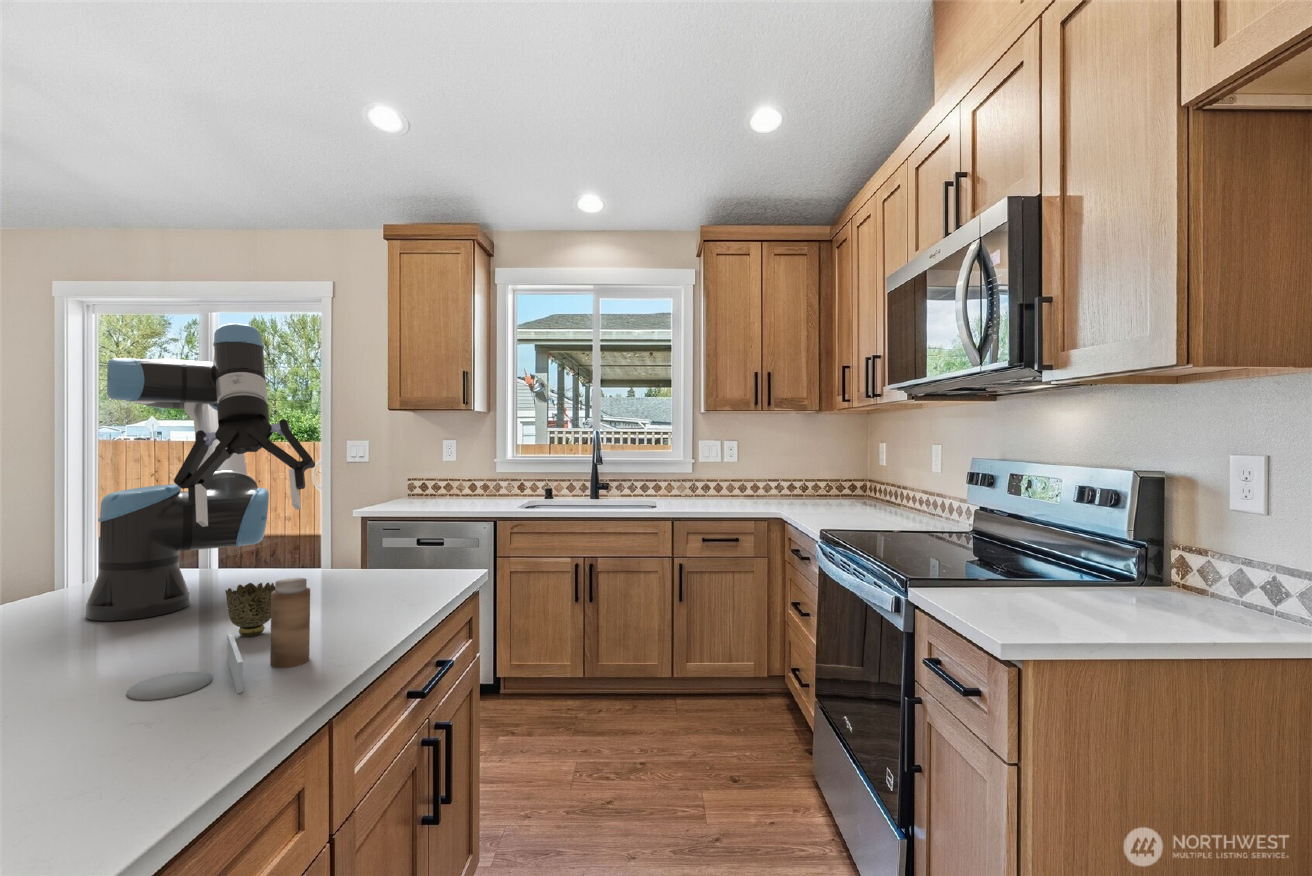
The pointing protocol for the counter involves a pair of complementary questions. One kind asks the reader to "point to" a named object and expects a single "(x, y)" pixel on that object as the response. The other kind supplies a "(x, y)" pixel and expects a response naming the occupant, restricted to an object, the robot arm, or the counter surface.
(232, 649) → the acrylic wall
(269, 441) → the robot arm
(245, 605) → the cup
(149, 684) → the coaster
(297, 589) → the pepper mill
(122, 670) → the counter surface
